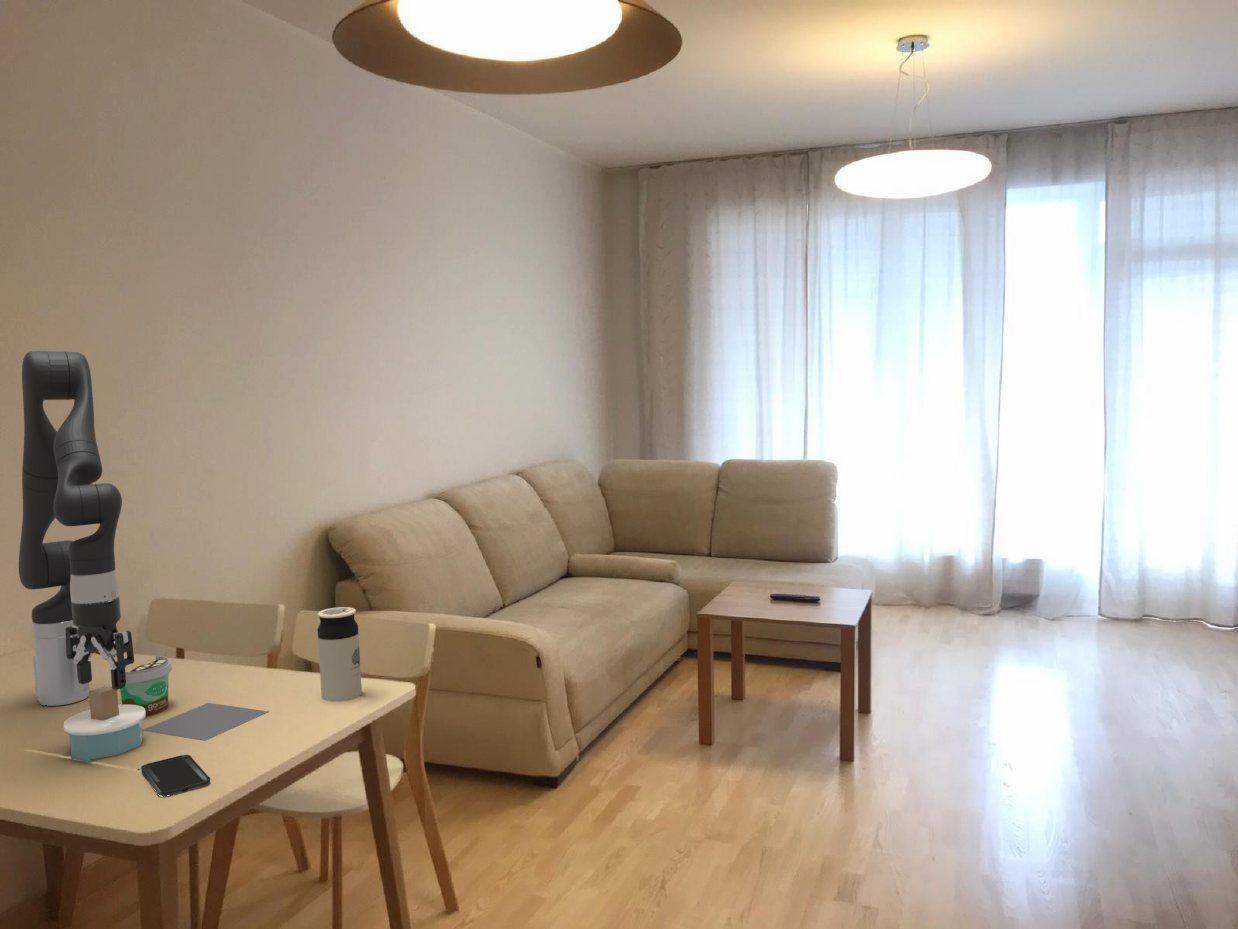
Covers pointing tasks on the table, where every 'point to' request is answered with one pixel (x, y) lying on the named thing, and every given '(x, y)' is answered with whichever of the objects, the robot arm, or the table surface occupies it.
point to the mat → (205, 721)
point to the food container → (148, 686)
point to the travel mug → (339, 654)
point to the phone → (175, 775)
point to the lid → (104, 714)
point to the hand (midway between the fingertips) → (102, 685)
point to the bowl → (105, 743)
